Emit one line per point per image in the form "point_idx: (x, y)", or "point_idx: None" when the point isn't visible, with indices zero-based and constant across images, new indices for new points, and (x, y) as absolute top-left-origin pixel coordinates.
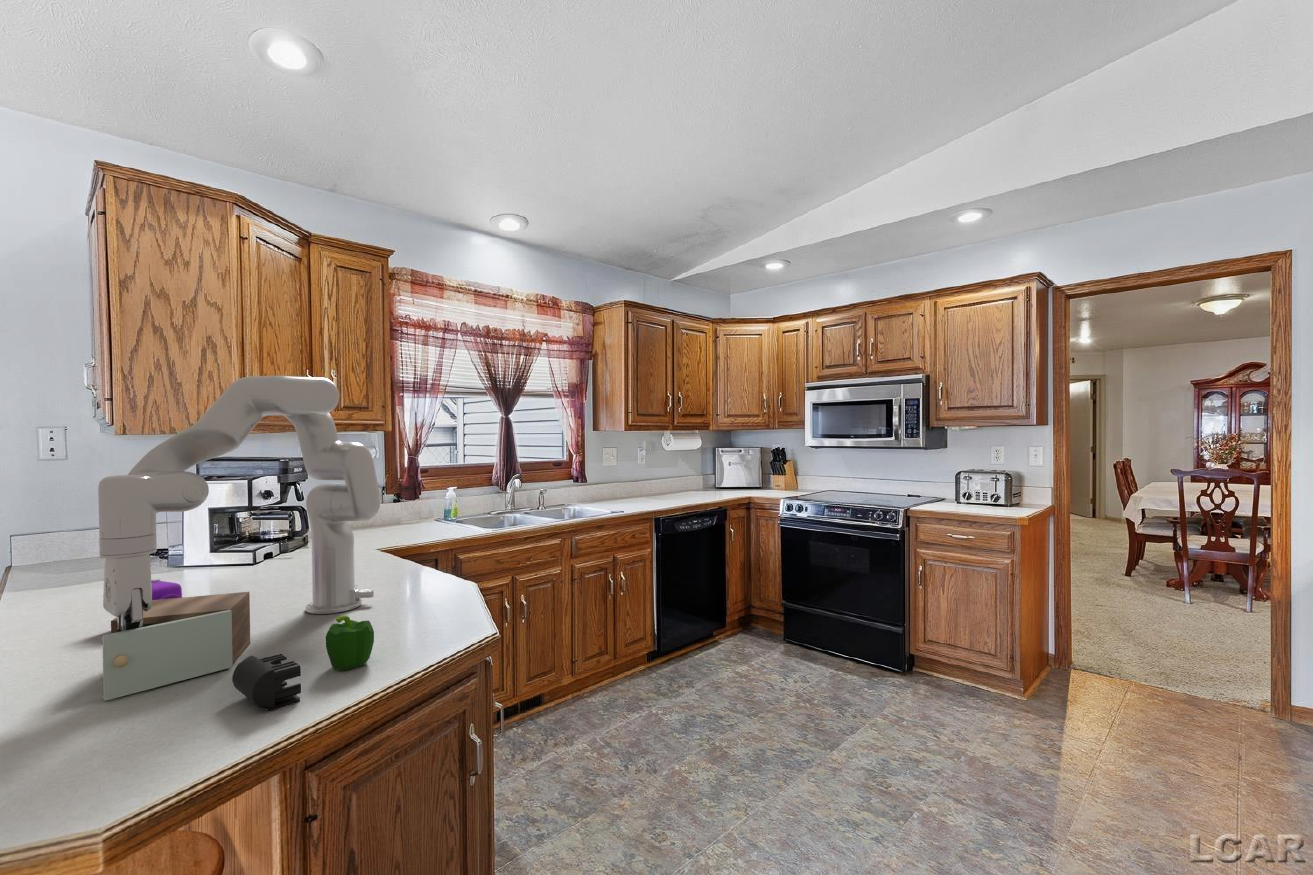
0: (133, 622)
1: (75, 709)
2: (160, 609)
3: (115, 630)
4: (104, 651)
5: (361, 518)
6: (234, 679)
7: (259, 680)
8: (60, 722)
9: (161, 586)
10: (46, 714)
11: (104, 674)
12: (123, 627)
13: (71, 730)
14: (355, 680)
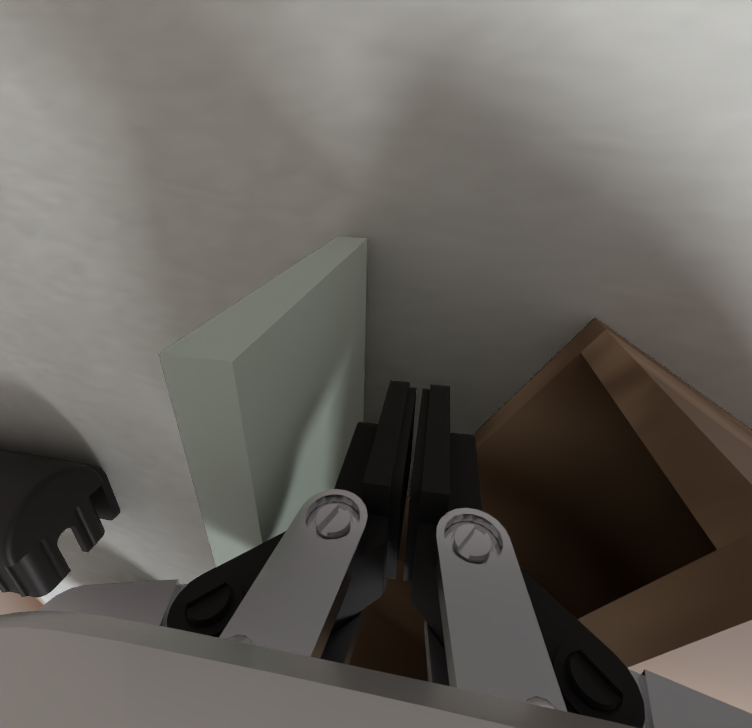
0: (83, 586)
1: (360, 135)
2: None
3: (724, 508)
4: (241, 303)
5: None
6: (17, 480)
7: None
8: (240, 56)
9: None
10: (402, 18)
11: (302, 260)
12: (292, 523)
13: (119, 77)
14: (75, 575)
